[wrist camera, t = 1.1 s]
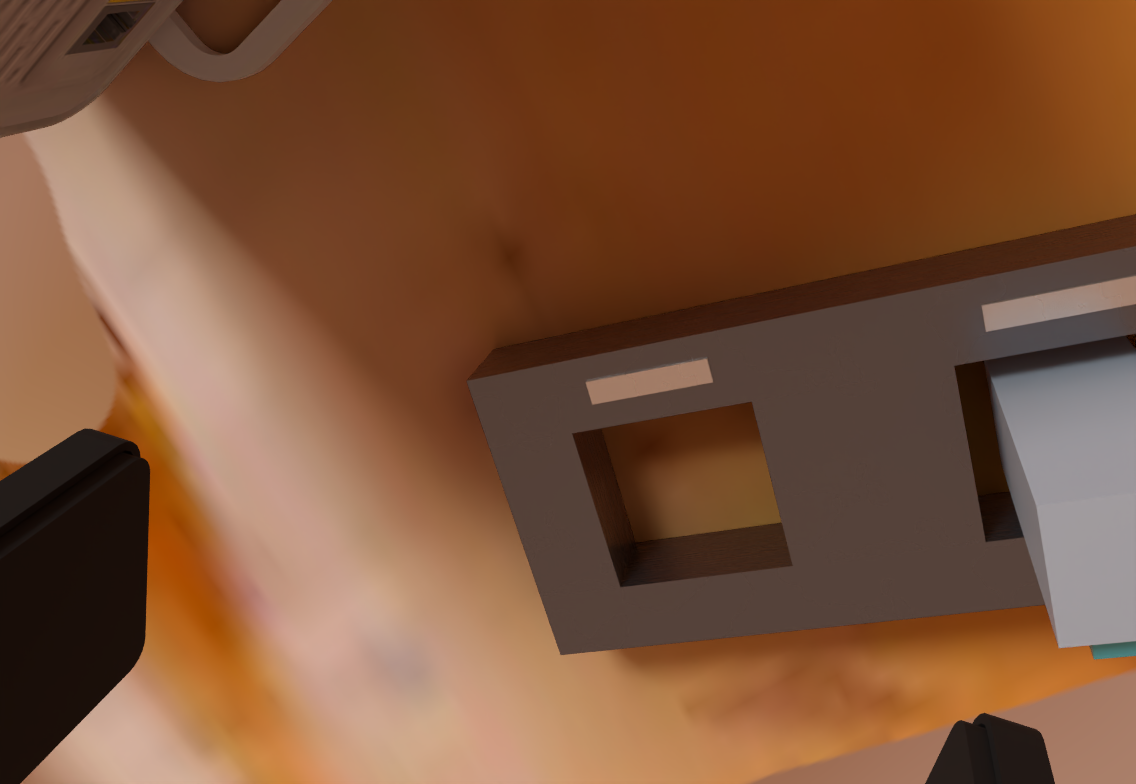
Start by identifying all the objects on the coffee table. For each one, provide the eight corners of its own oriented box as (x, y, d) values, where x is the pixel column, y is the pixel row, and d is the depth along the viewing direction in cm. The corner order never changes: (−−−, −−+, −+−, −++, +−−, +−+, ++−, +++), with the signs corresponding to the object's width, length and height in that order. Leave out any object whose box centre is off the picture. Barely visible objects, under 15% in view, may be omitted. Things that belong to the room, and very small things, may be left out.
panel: (1262, 187, 29) (1307, 212, 27) (1287, 523, 33) (1328, 577, 30) (493, 349, 37) (465, 381, 34) (579, 607, 40) (560, 656, 38)
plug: (1121, 329, 32) (1231, 479, 23) (1137, 467, 33) (1247, 659, 24) (982, 354, 33) (1036, 505, 24) (1005, 486, 35) (1063, 674, 26)
